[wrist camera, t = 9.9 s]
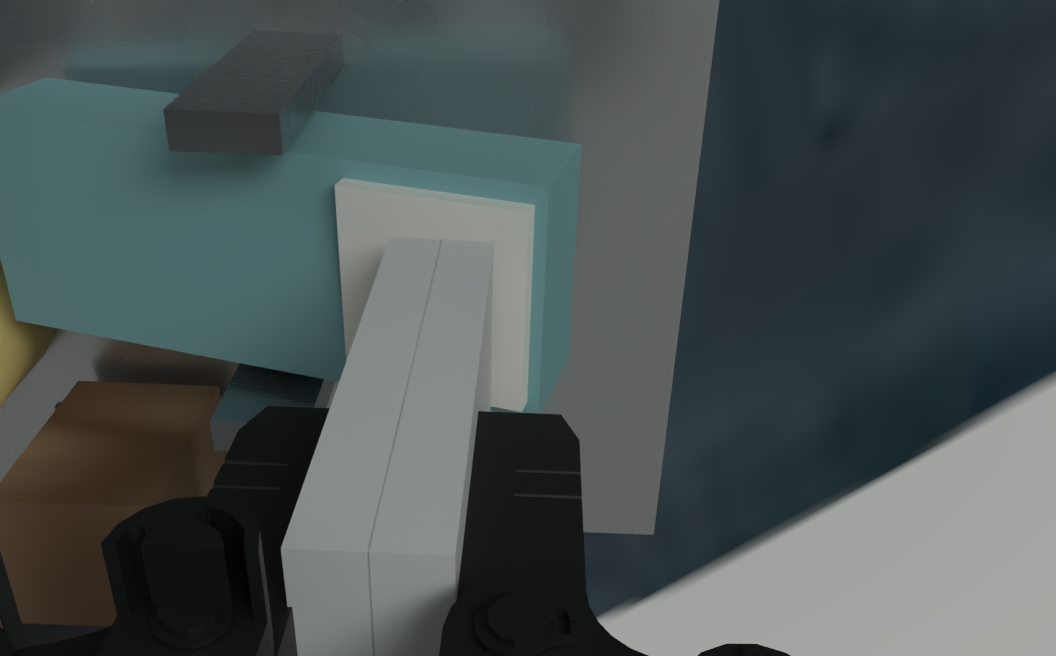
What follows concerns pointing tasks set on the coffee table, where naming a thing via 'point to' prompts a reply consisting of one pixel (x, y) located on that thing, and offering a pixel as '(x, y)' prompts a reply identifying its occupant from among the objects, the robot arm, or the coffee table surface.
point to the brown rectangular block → (98, 489)
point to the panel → (432, 99)
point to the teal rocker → (274, 231)
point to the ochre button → (18, 344)
